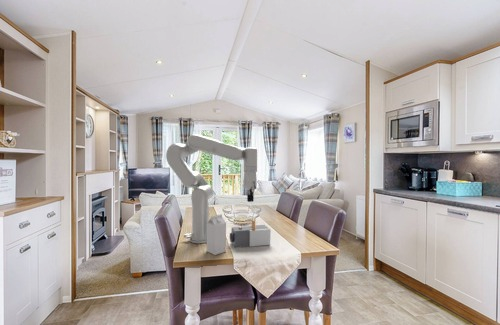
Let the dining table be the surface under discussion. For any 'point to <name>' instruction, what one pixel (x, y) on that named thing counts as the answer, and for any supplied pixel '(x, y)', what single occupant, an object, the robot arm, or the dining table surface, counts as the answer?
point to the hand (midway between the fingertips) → (250, 201)
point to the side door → (259, 236)
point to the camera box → (242, 235)
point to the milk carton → (216, 235)
